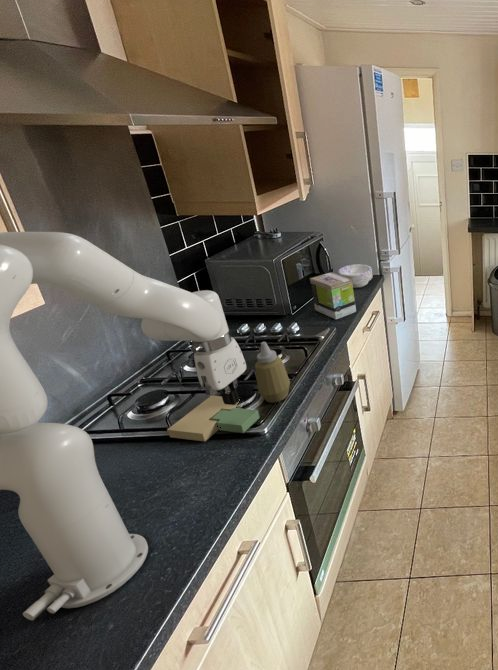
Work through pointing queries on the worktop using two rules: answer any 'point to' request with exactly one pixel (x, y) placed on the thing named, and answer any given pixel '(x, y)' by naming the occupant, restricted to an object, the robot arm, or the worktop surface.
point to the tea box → (333, 295)
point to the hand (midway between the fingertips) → (232, 402)
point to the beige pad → (200, 420)
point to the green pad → (236, 419)
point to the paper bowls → (357, 274)
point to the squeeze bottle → (271, 375)
